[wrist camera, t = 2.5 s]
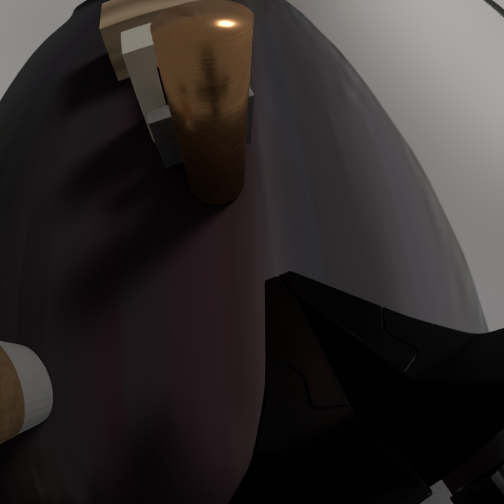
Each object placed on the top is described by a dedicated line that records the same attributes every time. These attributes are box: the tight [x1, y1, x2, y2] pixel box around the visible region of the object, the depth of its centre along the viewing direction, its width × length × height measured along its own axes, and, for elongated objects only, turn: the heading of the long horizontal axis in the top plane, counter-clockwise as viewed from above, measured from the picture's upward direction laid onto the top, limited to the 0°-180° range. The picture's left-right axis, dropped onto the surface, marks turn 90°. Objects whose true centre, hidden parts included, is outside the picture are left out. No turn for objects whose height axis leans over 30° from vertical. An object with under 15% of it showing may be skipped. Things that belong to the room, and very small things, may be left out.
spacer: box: [121, 23, 166, 143], centre depth 16 cm, size 3×7×8 cm, turn 110°
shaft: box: [146, 0, 254, 205], centre depth 15 cm, size 23×6×12 cm, turn 20°
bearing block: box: [100, 0, 232, 81], centre depth 20 cm, size 7×11×6 cm, turn 110°
